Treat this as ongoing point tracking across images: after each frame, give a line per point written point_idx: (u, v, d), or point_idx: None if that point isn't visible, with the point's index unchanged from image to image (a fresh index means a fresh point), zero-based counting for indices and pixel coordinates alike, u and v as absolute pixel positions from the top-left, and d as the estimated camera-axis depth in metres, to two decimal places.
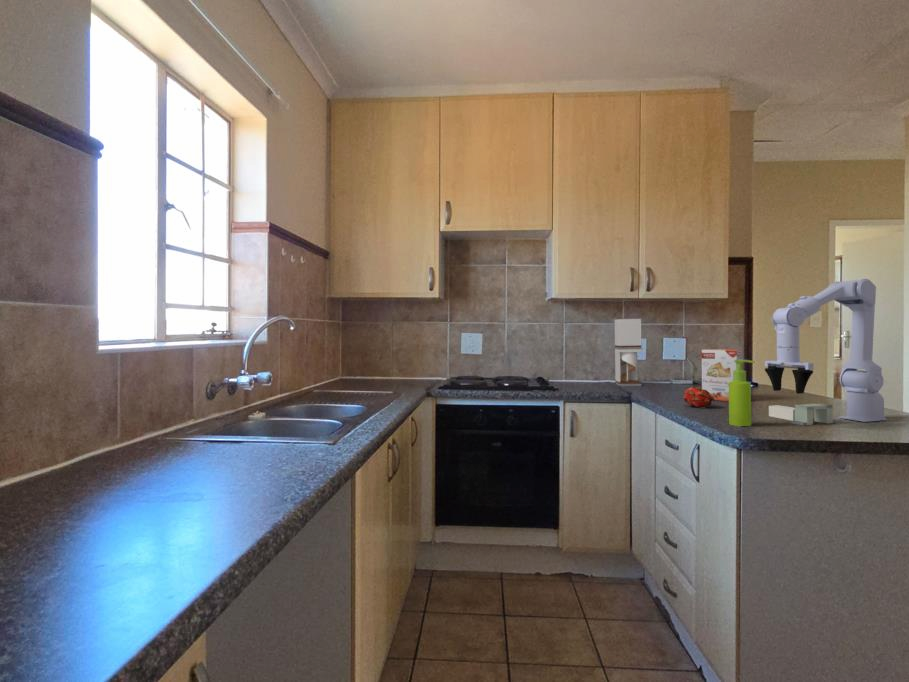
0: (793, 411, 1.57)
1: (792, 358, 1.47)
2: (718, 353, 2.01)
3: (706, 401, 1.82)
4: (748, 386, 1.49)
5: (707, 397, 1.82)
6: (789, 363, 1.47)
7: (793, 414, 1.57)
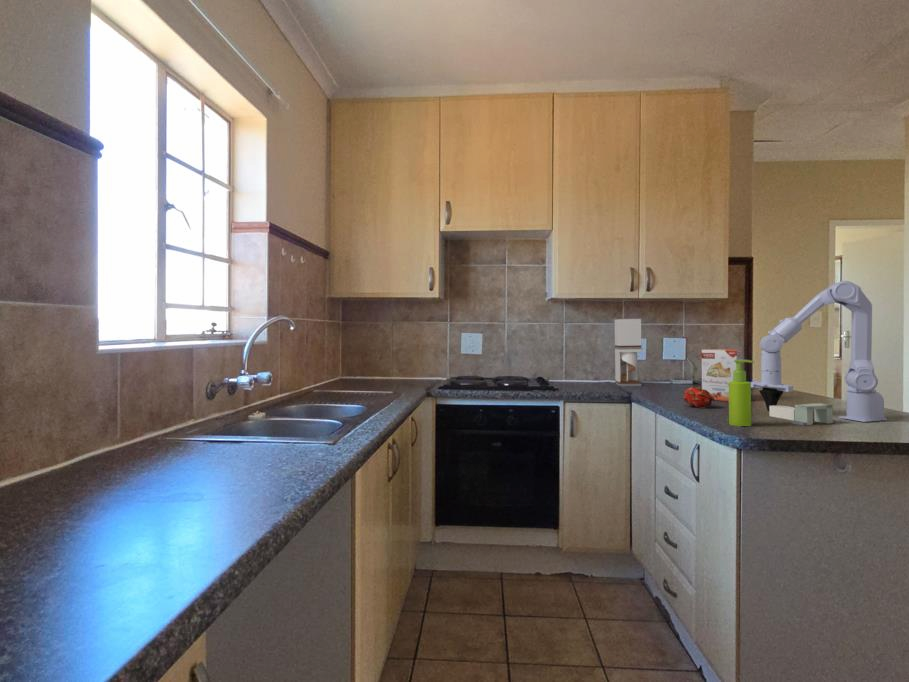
0: (794, 411, 1.56)
1: (774, 381, 1.64)
2: (718, 353, 2.01)
3: (706, 401, 1.82)
4: (748, 386, 1.49)
5: (707, 397, 1.82)
6: (772, 385, 1.64)
7: (794, 414, 1.57)
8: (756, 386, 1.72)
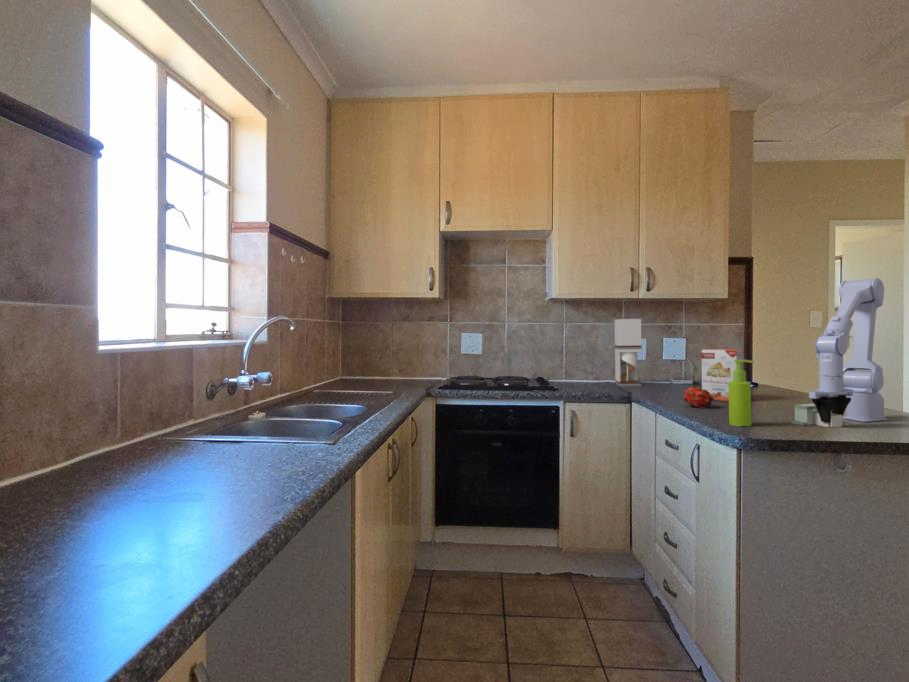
0: None
1: (820, 387, 1.47)
2: (718, 353, 2.01)
3: (706, 401, 1.82)
4: (748, 386, 1.49)
5: (707, 397, 1.82)
6: None
7: None
8: None
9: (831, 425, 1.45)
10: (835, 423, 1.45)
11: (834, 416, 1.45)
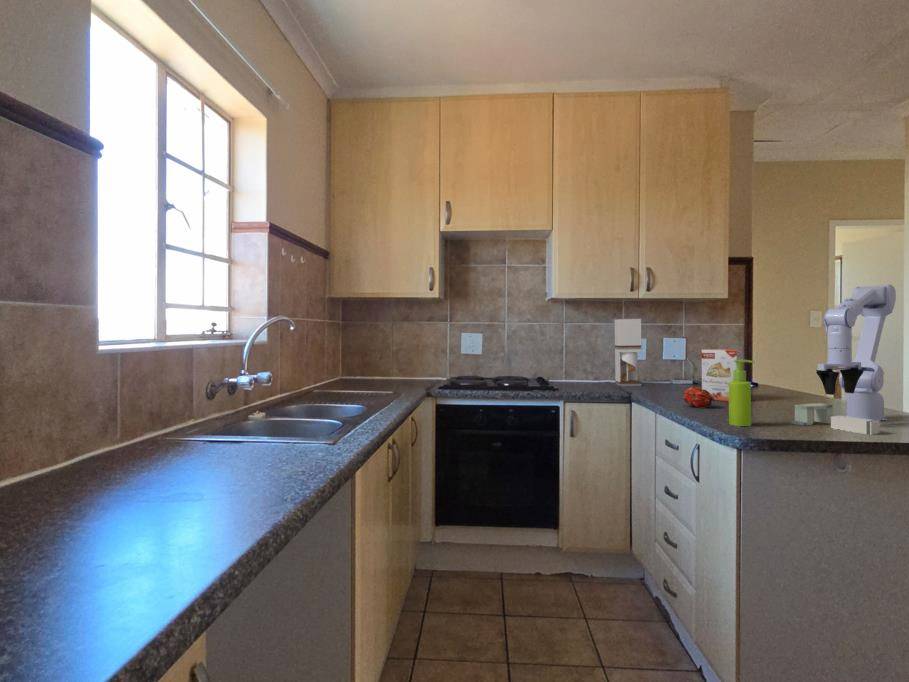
0: (866, 423, 1.36)
1: (828, 359, 1.49)
2: (718, 353, 2.01)
3: (706, 401, 1.82)
4: (748, 386, 1.49)
5: (707, 397, 1.82)
6: None
7: (866, 427, 1.36)
8: None
9: (870, 432, 1.35)
10: (874, 430, 1.35)
11: (873, 422, 1.35)
